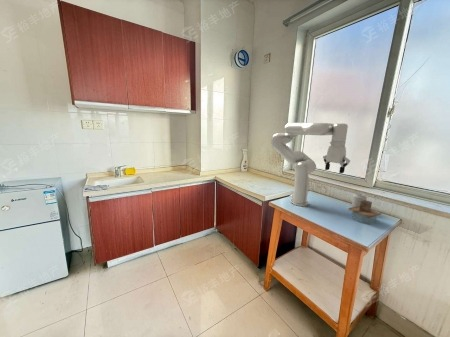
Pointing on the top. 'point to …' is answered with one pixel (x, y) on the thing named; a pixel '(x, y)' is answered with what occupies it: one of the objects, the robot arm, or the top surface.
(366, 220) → the bowl
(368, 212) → the lid
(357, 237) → the top surface
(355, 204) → the can
